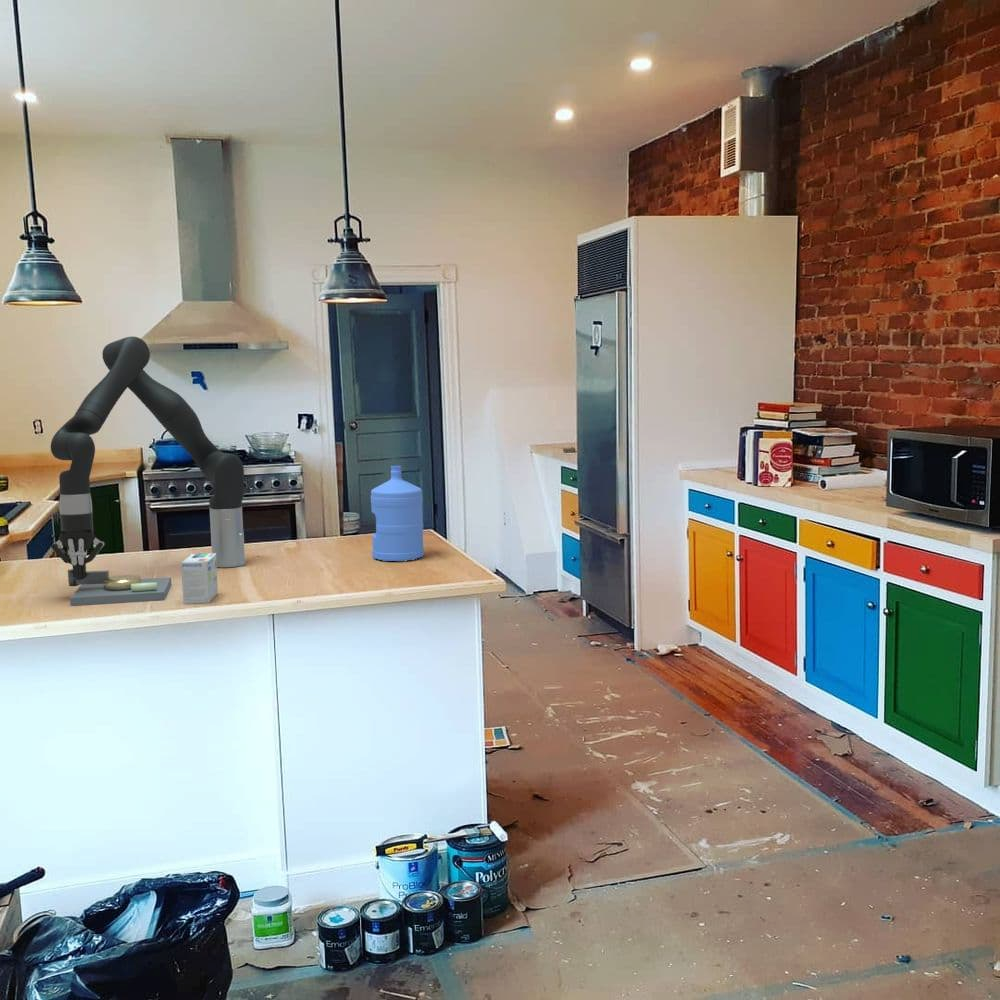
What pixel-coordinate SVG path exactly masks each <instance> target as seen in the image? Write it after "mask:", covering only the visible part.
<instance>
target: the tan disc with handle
mask: <svg viewBox="0 0 1000 1000" xmlns="http://www.w3.org/2000/svg"><path fill="white" fill-rule="evenodd" d="M109 572H110V571H109V570H94V571H93V570H92V571H89V570H88V571H87V570H86V576H85V577H84V579H82V580H76V578H74V576H73V568H71V569H67V578H68V580H67V581H68V586H69V587H78V586H81V585H83V584H104V589H107V590H125V589H131V584H136V583H141V579H142V577H141V575H138V574H120V575H119V574H118V575H113V576H110V575H109V574H110V573H109Z"/></svg>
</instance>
